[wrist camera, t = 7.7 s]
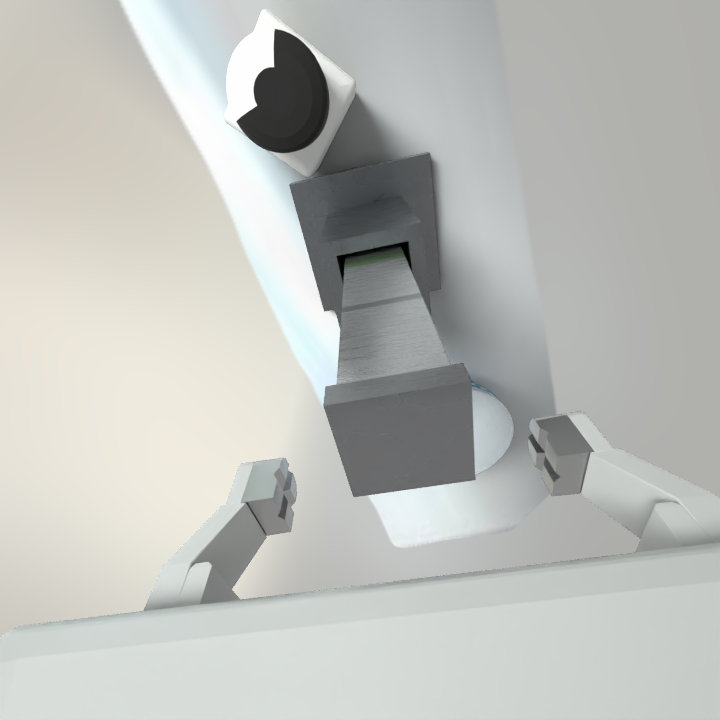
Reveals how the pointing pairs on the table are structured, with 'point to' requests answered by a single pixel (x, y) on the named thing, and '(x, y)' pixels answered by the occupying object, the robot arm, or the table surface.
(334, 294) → the stand base
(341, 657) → the robot arm
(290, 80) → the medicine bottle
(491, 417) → the chinaware
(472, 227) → the table surface
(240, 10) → the table surface
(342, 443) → the column
